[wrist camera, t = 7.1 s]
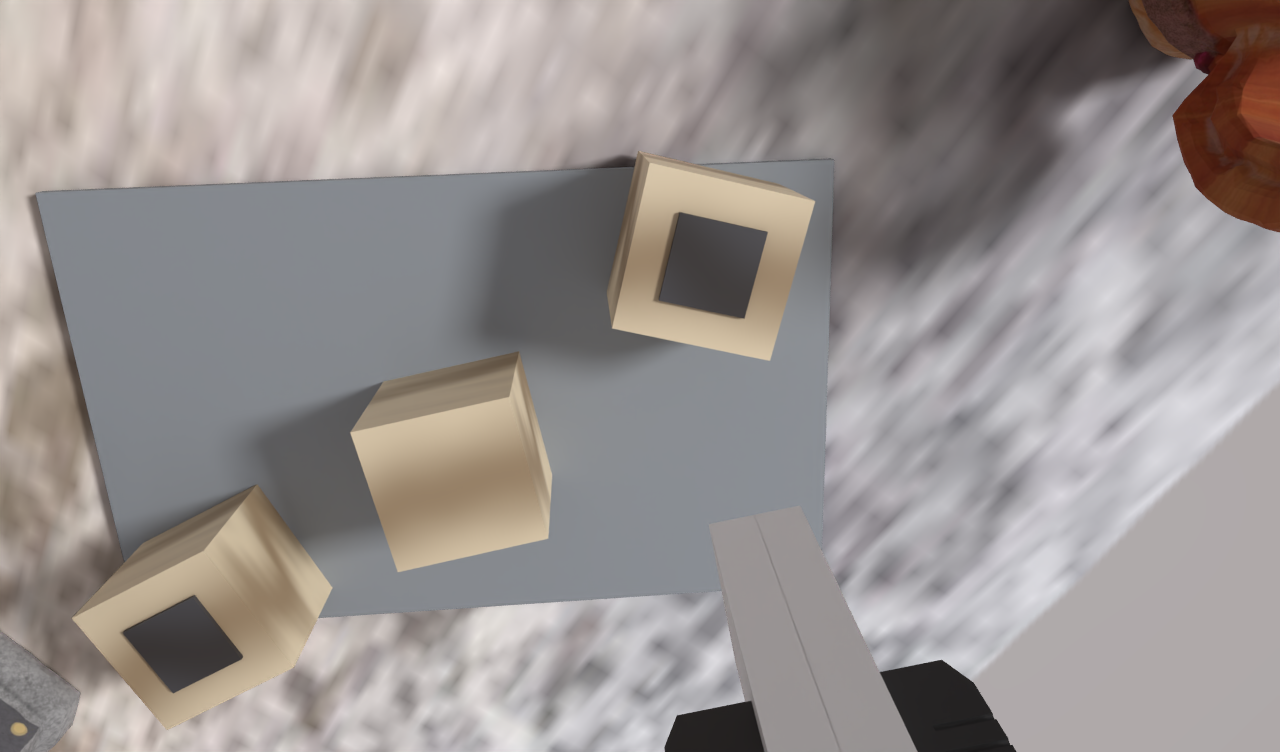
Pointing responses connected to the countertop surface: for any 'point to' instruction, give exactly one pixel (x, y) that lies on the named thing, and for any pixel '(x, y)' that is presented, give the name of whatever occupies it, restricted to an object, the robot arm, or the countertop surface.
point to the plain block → (456, 462)
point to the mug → (1226, 98)
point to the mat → (421, 342)
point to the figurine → (32, 701)
